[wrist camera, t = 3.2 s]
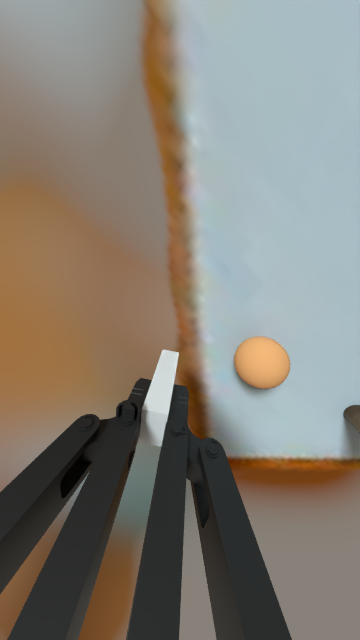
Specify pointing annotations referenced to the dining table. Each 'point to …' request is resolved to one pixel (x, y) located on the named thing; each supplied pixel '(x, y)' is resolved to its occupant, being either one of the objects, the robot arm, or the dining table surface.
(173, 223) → the dining table surface
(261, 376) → the ball
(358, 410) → the post
